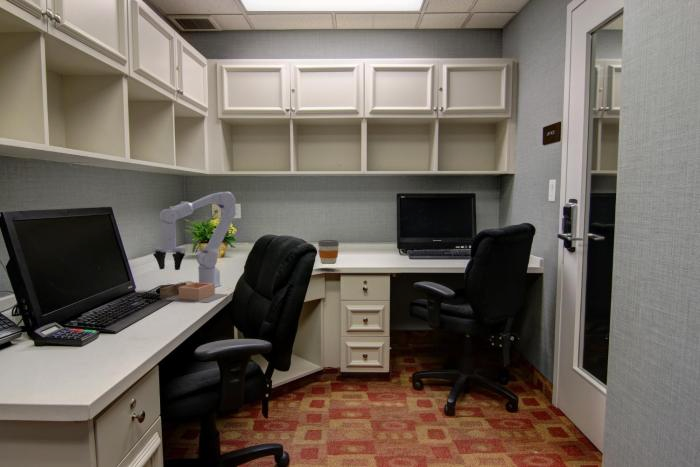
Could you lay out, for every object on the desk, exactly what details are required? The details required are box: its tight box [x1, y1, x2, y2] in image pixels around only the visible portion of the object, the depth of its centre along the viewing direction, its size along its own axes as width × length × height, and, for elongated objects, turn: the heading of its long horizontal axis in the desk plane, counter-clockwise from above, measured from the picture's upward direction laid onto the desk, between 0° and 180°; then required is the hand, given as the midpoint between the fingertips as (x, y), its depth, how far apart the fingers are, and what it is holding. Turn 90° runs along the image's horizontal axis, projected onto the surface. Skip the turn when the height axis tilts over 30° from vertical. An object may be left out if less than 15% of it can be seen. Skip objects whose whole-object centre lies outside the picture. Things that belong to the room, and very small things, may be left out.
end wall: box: [159, 281, 186, 300], centre depth 165 cm, size 13×2×4 cm, turn 166°
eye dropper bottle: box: [183, 280, 195, 285], centre depth 176 cm, size 4×6×12 cm
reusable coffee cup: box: [317, 239, 339, 264], centre depth 248 cm, size 12×12×15 cm
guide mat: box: [163, 293, 229, 304], centre depth 163 cm, size 14×24×1 cm, turn 76°
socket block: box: [179, 282, 216, 300], centre depth 162 cm, size 10×9×4 cm
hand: (169, 269), depth 173 cm, fingers open, 7 cm apart
